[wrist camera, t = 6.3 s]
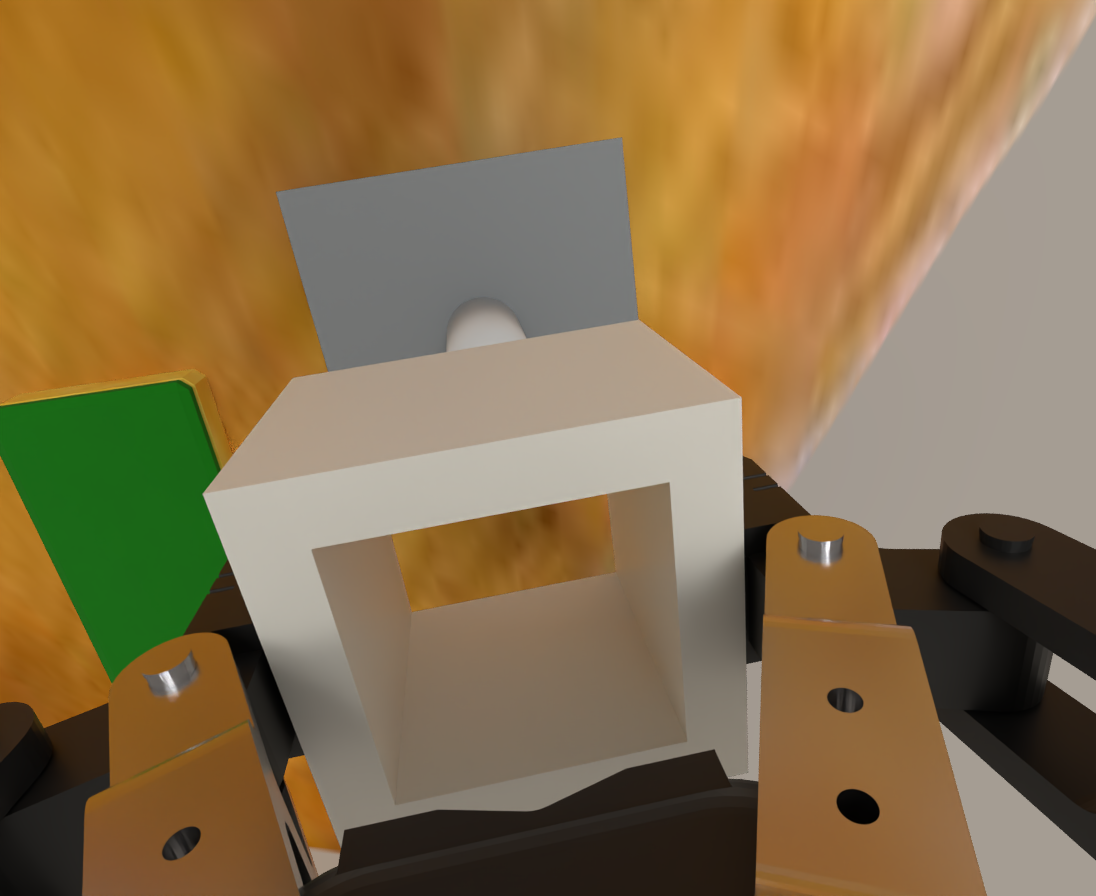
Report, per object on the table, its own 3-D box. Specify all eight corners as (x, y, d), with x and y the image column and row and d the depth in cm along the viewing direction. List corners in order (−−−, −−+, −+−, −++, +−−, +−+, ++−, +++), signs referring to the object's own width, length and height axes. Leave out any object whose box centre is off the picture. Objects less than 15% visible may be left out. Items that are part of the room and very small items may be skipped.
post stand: (286, 190, 23) (218, 197, 17) (612, 139, 24) (675, 125, 17) (370, 486, 28) (344, 586, 21) (640, 435, 29) (699, 515, 22)
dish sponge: (145, 670, 31) (121, 709, 28) (17, 391, 25) (-24, 412, 23) (299, 642, 31) (288, 678, 29) (207, 364, 26) (184, 381, 24)
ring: (292, 377, 11) (203, 493, 7) (638, 319, 11) (741, 397, 7) (377, 656, 13) (346, 862, 9) (661, 599, 14) (747, 772, 10)
